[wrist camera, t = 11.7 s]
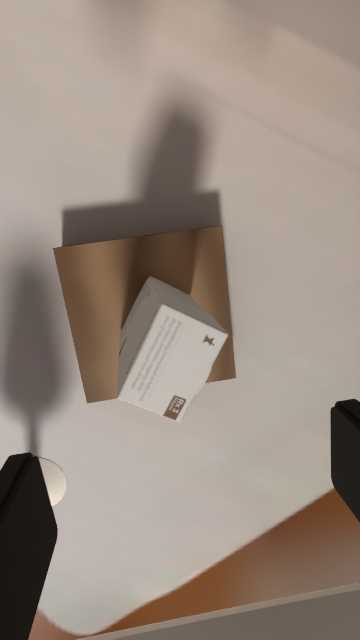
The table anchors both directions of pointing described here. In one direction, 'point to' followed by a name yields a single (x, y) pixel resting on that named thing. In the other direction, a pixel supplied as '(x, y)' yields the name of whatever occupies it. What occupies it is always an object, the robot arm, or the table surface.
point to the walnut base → (124, 287)
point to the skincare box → (166, 350)
